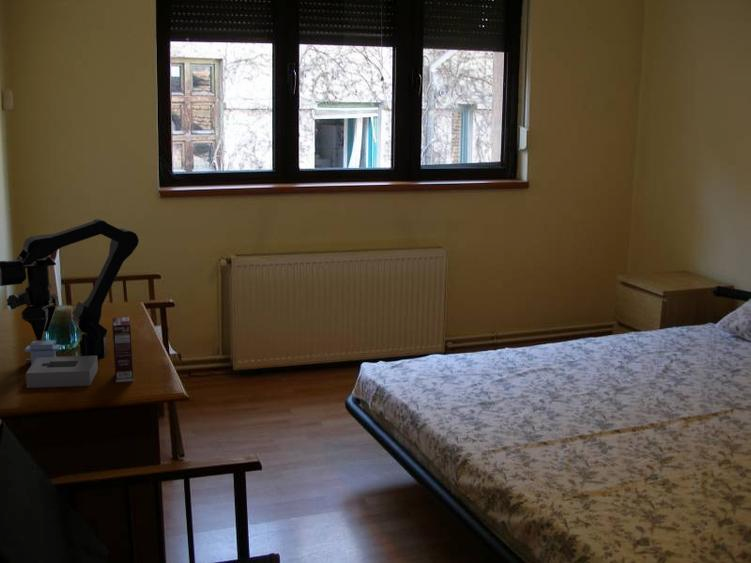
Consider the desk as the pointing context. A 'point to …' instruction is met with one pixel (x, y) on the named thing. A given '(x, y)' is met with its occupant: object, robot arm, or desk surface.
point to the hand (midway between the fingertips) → (42, 335)
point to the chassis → (62, 371)
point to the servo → (41, 350)
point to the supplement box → (122, 349)
